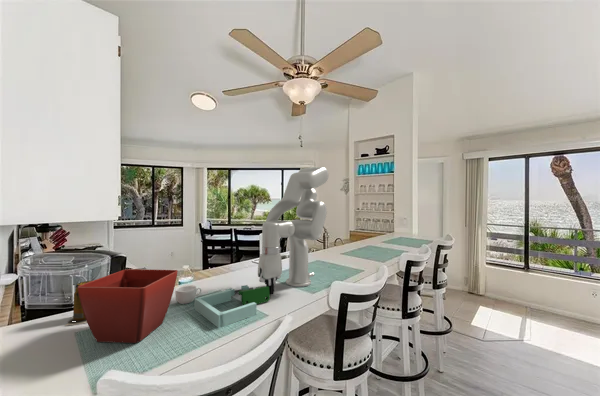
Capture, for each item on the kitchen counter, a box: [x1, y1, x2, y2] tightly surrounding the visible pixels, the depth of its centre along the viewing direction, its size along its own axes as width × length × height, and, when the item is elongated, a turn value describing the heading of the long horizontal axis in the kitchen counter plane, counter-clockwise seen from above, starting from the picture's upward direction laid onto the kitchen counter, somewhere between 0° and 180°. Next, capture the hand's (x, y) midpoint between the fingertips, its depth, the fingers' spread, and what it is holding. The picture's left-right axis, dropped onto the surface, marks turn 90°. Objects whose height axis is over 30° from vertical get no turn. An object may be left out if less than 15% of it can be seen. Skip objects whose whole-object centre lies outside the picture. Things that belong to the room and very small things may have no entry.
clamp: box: [238, 285, 271, 306], centre depth 104 cm, size 12×6×9 cm, turn 117°
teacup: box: [174, 284, 202, 305], centre depth 104 cm, size 10×8×5 cm
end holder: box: [193, 289, 258, 329], centre depth 94 cm, size 14×20×4 cm
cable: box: [234, 287, 254, 294], centre depth 108 cm, size 25×5×1 cm, turn 134°
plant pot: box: [78, 268, 178, 344], centre depth 79 cm, size 19×19×17 cm
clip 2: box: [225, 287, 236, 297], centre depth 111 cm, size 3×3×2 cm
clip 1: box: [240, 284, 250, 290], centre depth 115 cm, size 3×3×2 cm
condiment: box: [64, 280, 92, 327], centre depth 87 cm, size 7×8×12 cm
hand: (270, 293), depth 110 cm, fingers closed
